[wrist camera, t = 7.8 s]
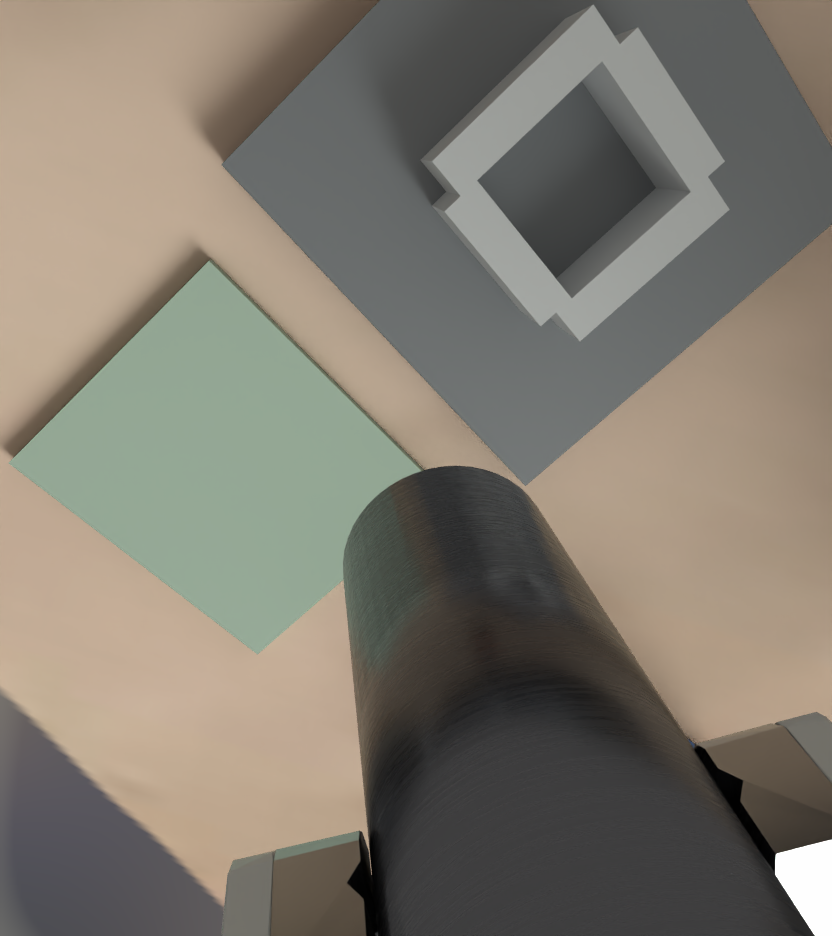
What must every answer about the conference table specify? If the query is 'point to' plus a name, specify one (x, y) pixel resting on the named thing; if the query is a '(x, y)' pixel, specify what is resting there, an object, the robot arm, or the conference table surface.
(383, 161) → the grey flat square block
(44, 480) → the rubber mat
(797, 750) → the robot arm
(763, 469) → the conference table surface
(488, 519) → the black and gold cylinder
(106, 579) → the conference table surface
